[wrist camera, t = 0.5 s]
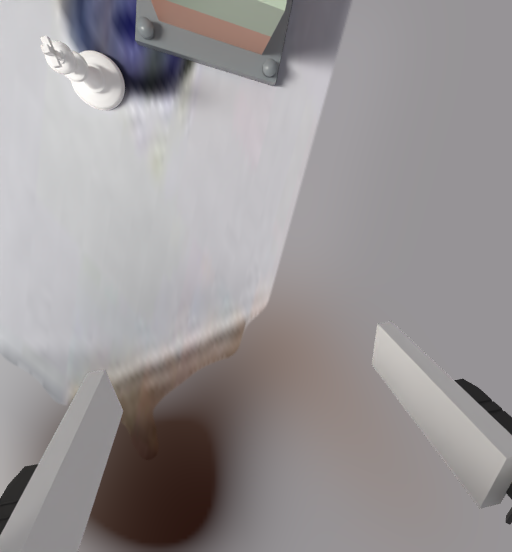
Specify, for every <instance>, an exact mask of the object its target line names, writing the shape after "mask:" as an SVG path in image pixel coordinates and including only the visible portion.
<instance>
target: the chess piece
mask: <svg viewBox="0 0 512 552" xmlns="http://www.w3.org/2000/svg"><path fill="white" fill-rule="evenodd" d="M40 38H41V40H42V43H43V45H40V46H41V48H42V51H43V53H44V54H45V57H46V60H47V62H48V64H49V65H50V67H51V68H52V69H53V70H55V71H56V72H58V73H60V74H64V75H65V76H66V77H67V78H68V79H70V80H71V83H72V86H73V88H74V90H75V91H76V93H77V94H78V96H79V97H80V98H81V99H82V100H83V101H84V102H85V103H87V104H88V105H89V106H91V107H93V108H95V109H98V110H111V109H113V108H115V107H117V106H118V105H119V104H120V103H121V101H122V99H123V97H124V93H125V83H124V79H123V76H122V73H121V71H120V70H119V68H118V67H117V65H116V64H115V63H114V62H113V61H112V60H111V59H110V58H109V57H107V56H105V55H104V54H101V53H99V52H96V51H83V52H81V53H77V52H75V51H71V50H70V48H69V47H68V46H67V45H65V44H64V43H62V42H59V41H52V42H51V40H50V38H49V37H47V36H43V37H40Z"/></svg>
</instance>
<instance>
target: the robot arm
mask: <svg viewBox="0 0 512 552" xmlns="http://www.w3.org/2000/svg"><path fill="white" fill-rule="evenodd" d="M372 366H373V367H374V368H375V370H376V371H377V373H378V374H379V375H380V377H381V378H382V379H383V380H384V382H385V383H386V384H387V386H388V387H389V389H390V390H391V391H392V392H393V394H394V395H395V397H396V398H397V399H398V401H399V402H400V403H401V404H402V406H403V407H404V409H405V410H406V411H407V412H408V414H409V415H410V417H411V418H412V419H413V421H414V422H415V423H416V425H417V426H418V427H419V428H420V430H421V431H422V433H423V434H424V435H425V436H426V438H427V439H428V440H429V442H430V443H431V444H432V446H433V447H434V449H435V450H436V451H437V453H438V454H439V455H440V457H441V458H442V459H443V461H444V462H445V463H446V465H447V466H448V467H449V469H450V470H451V471H452V472H453V474H454V475H455V477H456V478H457V479H458V480H459V482H460V483H461V484H462V486H463V487H464V489H465V490H466V491H467V493H468V494H469V495H470V497H471V498H472V499H473V500H474V502H475V503H476V504H477V506H478V507H479V508H484V507H488V506H492V505H496V504H499V503H501V501H502V500H503V498H504V496H505V494H506V493H507V494H508V496H509V497H510V498H511V499H512V417H511V416H509V415H508V414H507V413H506V412H505V411H503V410H502V408H501V407H499V406H498V405H497V404H496V403H495V402H492V400H491V399H490V398H489V397H488V396H487V395H486V394H485V393H484V392H483V391H481V390H480V389H479V388H478V387H476V386H475V385H473V384H471V383H469V382H467V381H466V380H464V379H459V380H453V379H452V378H451V377H450V376H449V375H448V374H447V373H446V372H445V371H444V370H443V369H441V367H439V366H438V365H437V364H436V363H435V362H434V361H433V360H432V359H431V358H430V357H429V356H428V355H426V353H424V351H423V350H422V349H421V348H419V347H418V346H417V345H416V344H415V343H414V342H413V341H412V340H411V339H410V338H409V337H408V336H407V335H406V334H405V333H404V332H403V331H402V330H401V329H399V328H398V327H397V326H396V325H395V324H394V323H393V322H392V321H390V322H384V323H378V324H377V331H376V338H375V345H374V352H373V359H372ZM122 413H123V409H122V407H121V405H120V402H119V400H118V398H117V395H116V393H115V391H114V388H113V386H112V384H111V382H110V379H109V377H108V375H107V372H106V370H100V371H94V372H88V373H87V374H86V376H85V378H84V380H83V382H82V384H81V386H80V387H79V389H78V391H77V393H76V395H75V397H74V399H73V401H72V402H71V404H70V406H69V408H68V410H67V412H66V414H65V416H64V417H63V419H62V421H61V423H60V425H59V427H58V429H57V431H56V432H55V434H54V436H53V438H52V440H51V442H50V444H49V445H48V447H47V449H46V451H45V453H44V455H43V457H42V458H41V460H40V462H39V464H37V465H31V466H26V467H24V468H23V469H22V470H21V471H20V473H19V474H18V475H17V476H16V477H15V478H14V479H13V480H12V481H11V482H10V484H9V485H8V486H7V488H6V490H5V491H4V493H3V495H2V496H1V498H0V552H78V549H79V547H80V543H81V540H82V537H83V534H84V531H85V528H86V525H87V522H88V518H89V516H90V512H91V509H92V506H93V503H94V500H95V497H96V494H97V491H98V488H99V485H100V481H101V478H102V475H103V472H104V469H105V466H106V463H107V459H108V457H109V454H110V450H111V447H112V444H113V441H114V438H115V435H116V432H117V428H118V426H119V423H120V419H121V416H122ZM506 523H508V524H511V523H512V508H511V509H510V511H509V512H508V514H507V515H506Z"/></svg>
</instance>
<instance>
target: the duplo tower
mask: <svg viewBox="0 0 512 552" xmlns="http://www.w3.org/2000/svg"><path fill="white" fill-rule="evenodd" d="M292 1H293V0H137V7H136V33H135V41H136V42H137V43H138V45H141V46H144V47H148V48H151V49H154V50H157V51H161V52H164V53H167V54H170V55H174V56H177V57H180V58H184V59H187V60H190V61H193V62H197V63H200V64H203V65H206V66H210V67H213V68H216V69H219V70H223V71H226V72H229V73H232V74H236V75H239V76H242V77H245V78H249V79H252V80H255V81H258V82H262V83H265V84H268V85H272V86H274V85H275V84H276V79H277V74H278V69H279V65H280V60H281V55H282V50H283V45H284V40H285V35H286V31H287V26H288V21H289V16H290V11H291V6H292Z"/></svg>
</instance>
